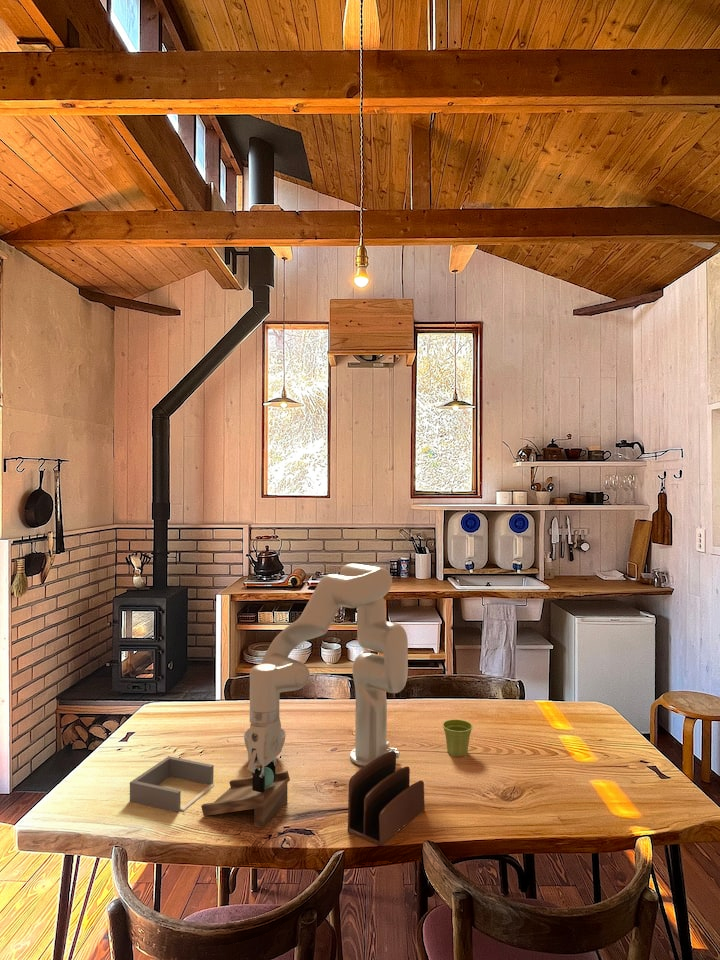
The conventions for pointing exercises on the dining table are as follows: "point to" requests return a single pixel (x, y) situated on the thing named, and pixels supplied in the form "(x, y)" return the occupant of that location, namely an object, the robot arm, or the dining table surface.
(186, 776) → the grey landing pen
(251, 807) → the walnut ramp
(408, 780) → the letter holder
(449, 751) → the plant pot
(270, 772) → the teal rubber ball
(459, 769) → the dining table surface
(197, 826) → the dining table surface
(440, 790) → the dining table surface
